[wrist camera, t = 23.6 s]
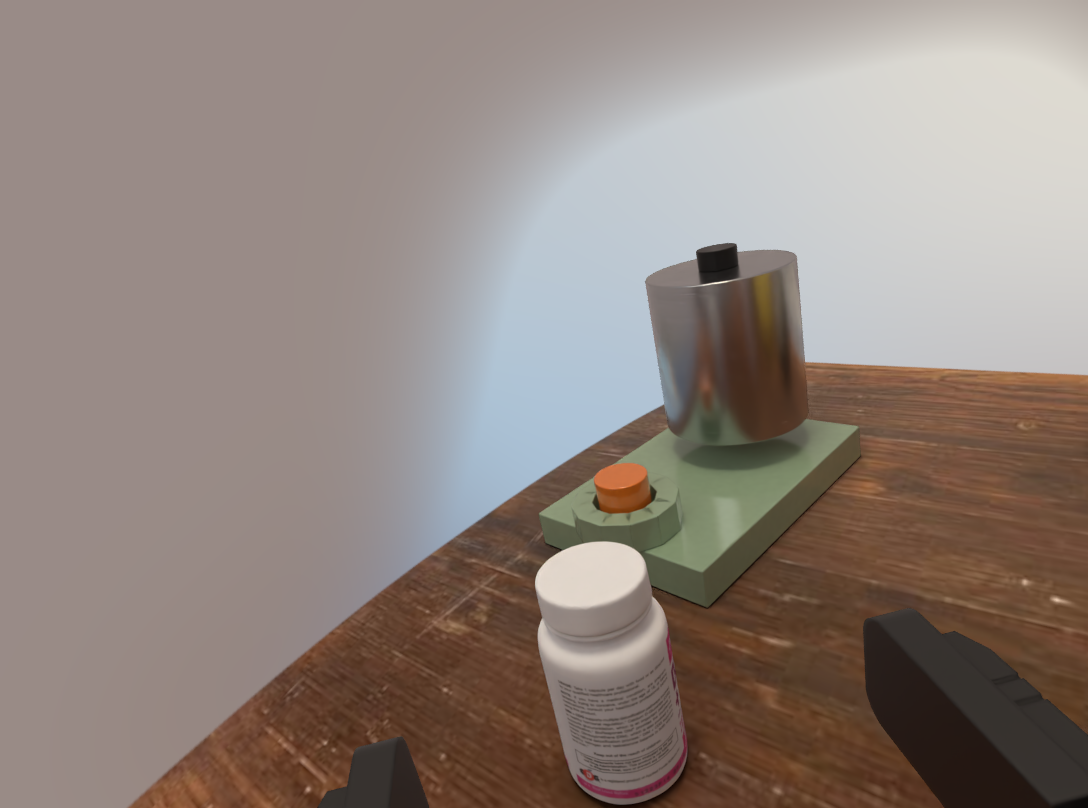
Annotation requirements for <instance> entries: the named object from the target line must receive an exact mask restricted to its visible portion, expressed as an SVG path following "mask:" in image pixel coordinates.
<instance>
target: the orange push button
mask: <svg viewBox="0 0 1088 808" xmlns="http://www.w3.org/2000/svg"><path fill="white" fill-rule="evenodd" d="M594 485H595V490H596V495H597V500H598V505H599V508H600V510H601V511H603V512H606V513H609V514H617V513H630V512H634V511H637V510H640V509H643V508H645V507H646V506H647V505H649V504H650V503H651V501H652V495H651V489H650V483H649V478H648V472H647V470H646V468H645V467H643V466H642V465H639V464H635V463H621V464H615V465H611V466H608V467H606V468H604V469H602V470H600V471H599V472H598V473H597V474H596V475H595V477H594Z"/></svg>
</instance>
